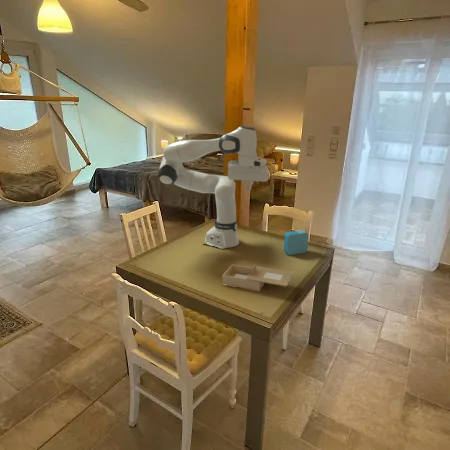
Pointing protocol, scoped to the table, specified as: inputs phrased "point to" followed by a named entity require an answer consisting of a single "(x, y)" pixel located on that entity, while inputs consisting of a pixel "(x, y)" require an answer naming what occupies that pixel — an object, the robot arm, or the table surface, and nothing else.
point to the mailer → (240, 278)
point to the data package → (296, 242)
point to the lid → (269, 275)
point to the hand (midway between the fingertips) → (248, 189)
